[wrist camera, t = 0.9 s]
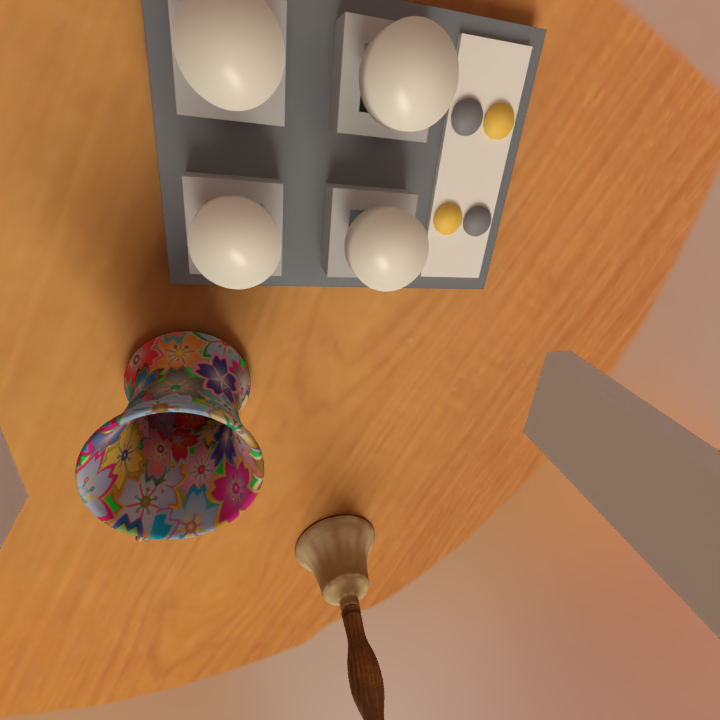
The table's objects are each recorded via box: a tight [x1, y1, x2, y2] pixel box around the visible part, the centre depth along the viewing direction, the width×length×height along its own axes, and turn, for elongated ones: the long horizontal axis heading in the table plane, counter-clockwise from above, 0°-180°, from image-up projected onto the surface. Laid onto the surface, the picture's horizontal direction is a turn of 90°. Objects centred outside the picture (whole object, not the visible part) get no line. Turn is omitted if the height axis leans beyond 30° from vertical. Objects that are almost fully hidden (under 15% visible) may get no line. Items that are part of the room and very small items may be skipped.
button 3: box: [344, 205, 429, 291], centre depth 25 cm, size 4×4×4 cm
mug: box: [75, 331, 264, 542], centre depth 28 cm, size 12×9×11 cm
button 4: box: [359, 16, 459, 132], centre depth 21 cm, size 4×4×4 cm
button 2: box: [172, 0, 285, 111], centre depth 19 cm, size 4×4×4 cm
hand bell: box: [295, 515, 384, 720], centre depth 38 cm, size 8×8×16 cm
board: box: [142, 0, 546, 289], centre depth 26 cm, size 22×16×4 cm
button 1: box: [188, 194, 282, 289], centre depth 23 cm, size 4×4×4 cm
